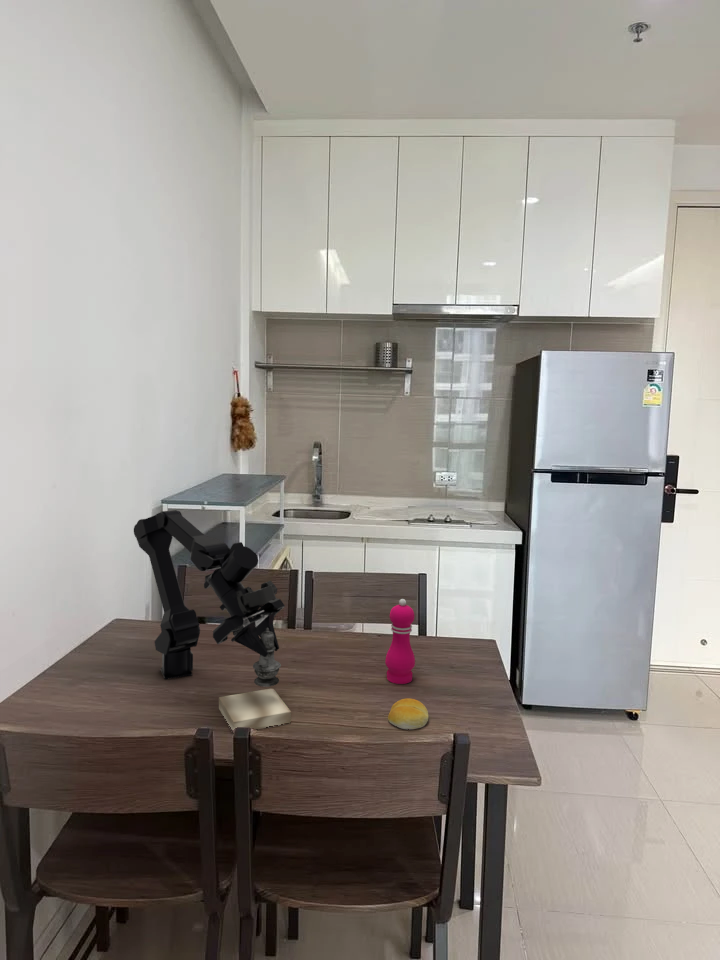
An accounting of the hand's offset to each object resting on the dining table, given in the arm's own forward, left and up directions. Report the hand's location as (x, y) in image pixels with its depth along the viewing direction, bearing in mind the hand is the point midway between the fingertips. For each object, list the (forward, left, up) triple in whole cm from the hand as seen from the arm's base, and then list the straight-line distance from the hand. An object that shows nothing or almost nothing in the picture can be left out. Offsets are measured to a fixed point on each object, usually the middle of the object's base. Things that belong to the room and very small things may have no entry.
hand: (272, 652), depth 136 cm
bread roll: (+26, -14, -14) cm, 32 cm away
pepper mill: (+34, +5, -13) cm, 37 cm away
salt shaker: (-1, +1, -7) cm, 7 cm away
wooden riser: (-4, 0, -13) cm, 14 cm away
